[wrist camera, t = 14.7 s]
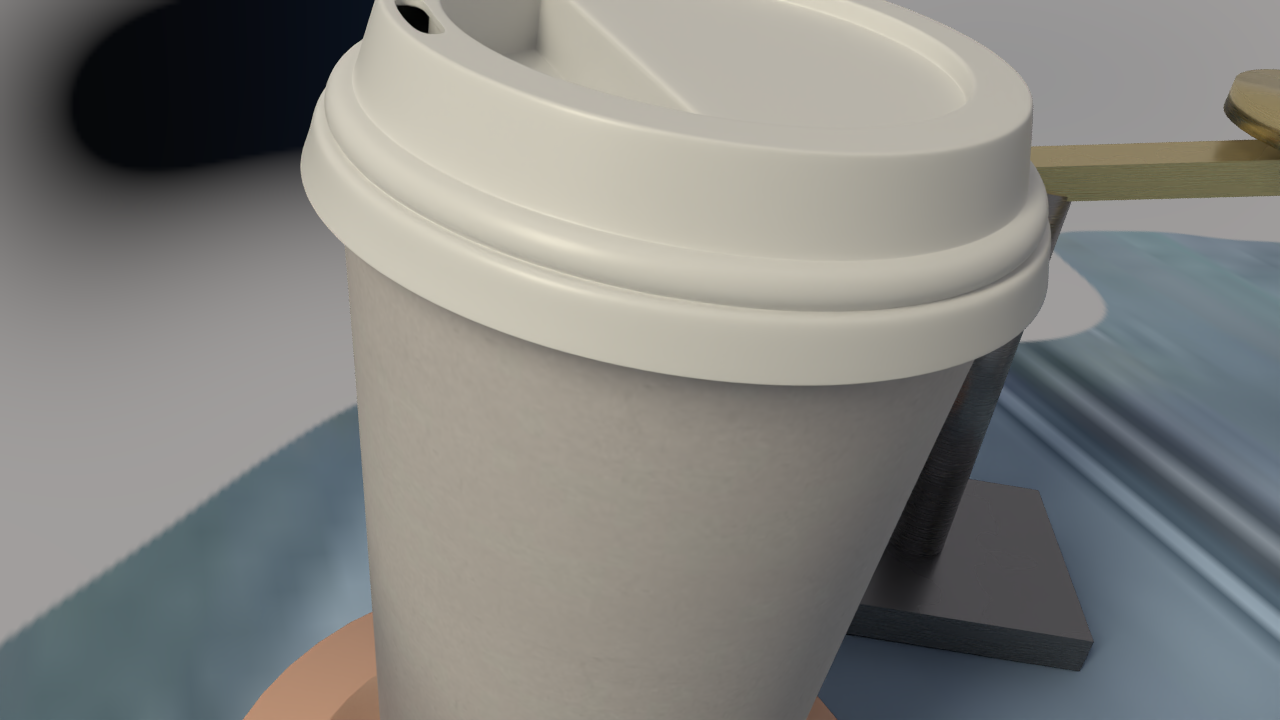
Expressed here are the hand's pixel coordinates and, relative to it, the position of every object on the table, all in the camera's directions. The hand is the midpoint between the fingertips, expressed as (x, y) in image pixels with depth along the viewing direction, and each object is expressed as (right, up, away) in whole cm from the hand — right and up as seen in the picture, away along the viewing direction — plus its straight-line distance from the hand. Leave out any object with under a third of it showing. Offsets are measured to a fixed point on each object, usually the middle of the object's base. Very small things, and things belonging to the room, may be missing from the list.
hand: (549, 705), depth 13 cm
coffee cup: (0, -5, +10) cm, 11 cm away
